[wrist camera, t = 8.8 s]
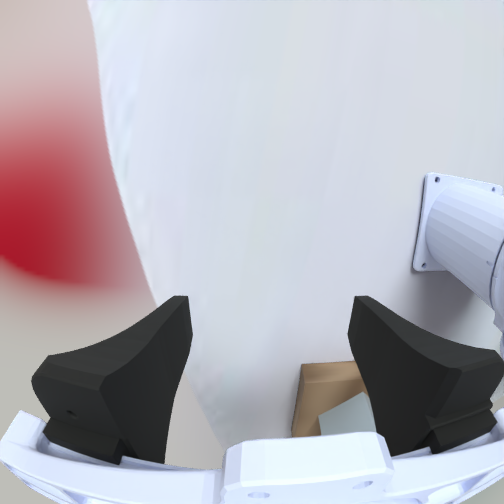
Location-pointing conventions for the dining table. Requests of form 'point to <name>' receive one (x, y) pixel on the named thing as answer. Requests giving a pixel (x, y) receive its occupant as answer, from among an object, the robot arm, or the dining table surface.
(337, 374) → the plinth
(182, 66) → the dining table surface
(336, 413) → the block
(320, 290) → the dining table surface
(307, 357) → the dining table surface
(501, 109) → the dining table surface
